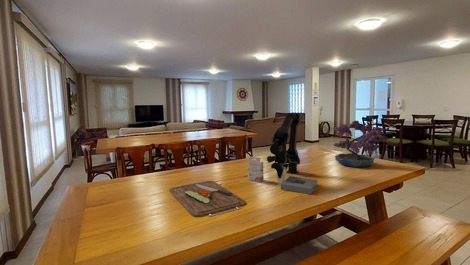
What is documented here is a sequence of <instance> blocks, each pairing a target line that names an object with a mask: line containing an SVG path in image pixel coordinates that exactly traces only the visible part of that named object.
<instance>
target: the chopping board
mask: <svg viewBox="0 0 470 265" xmlns="http://www.w3.org/2000/svg"><path fill="white" fill-rule="evenodd" d="M168 191H169V193H170V194H171V195H172V196H173V197H174V199H176V200H177V201H178V203H180V205H182V207H183V208H184V209H185V210H186V211H187V212H188V213H189V214H190V216H192V217H195V218H199V217H205V216H207V217H208V218H211V217H214V216H218V215H219V216H220V215H221V214H225V213H226V214H227V213H230V212H232V211H233V212H234V211H237V210H238V211H239V210H241V209H242V207H243V206H245V205H246V203H247V202H246V200H245V199H243V197H240V196H238V195H237V194H235V193H233V192H232V191H231V190H229V189H227V188H225V187H223V186H222V185H221V184H219V183H217V182H216V181H214V180H206V181H203V180H201V181H196V182H190V183H185V184H179V185H176V186H173V187H170V188H169V190H168Z"/></svg>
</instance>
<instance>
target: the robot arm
mask: <svg viewBox="0 0 470 265" xmlns="http://www.w3.org/2000/svg"><path fill="white" fill-rule="evenodd" d="M302 118H303V116H302V114H301V113H300V112H297V113H296V112H287V113H286V114H285V118H284V120H283V122H282V124H281V126H280V127H279V128H277V129H276V131H275V132H274V133H273V138H272V141H271V142H272V145H271V146H270V147H269V152H270V153H271V154H272V155H269V156H267V158H266V161H267V163H268V164H270V163H272V164H270V168H271V169H273V170H275V171H276V175H277V174H278V177H279V178H281V176H282V173H283V170H284V168H283V167H286V171H285V173H288V174H295V175H296V174H297V173H299V170H298V165H300V164H301V159H300V156H299V152H298V150H297V142H298V141H297V140H298V129H299V126H300V124H301V122H302ZM288 139H289V140H288ZM288 141H289V143H288ZM287 143H288V148H287Z"/></svg>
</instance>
